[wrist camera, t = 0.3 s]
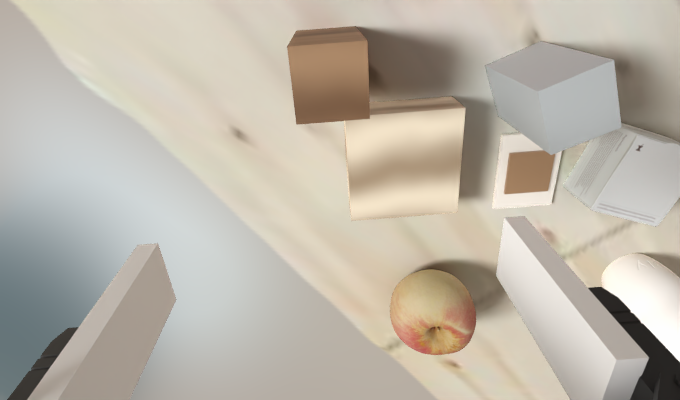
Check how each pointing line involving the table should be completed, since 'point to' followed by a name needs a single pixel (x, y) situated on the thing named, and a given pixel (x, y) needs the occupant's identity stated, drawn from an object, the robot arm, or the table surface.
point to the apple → (433, 312)
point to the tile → (524, 173)
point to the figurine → (648, 295)
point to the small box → (628, 175)
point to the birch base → (405, 158)
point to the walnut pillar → (329, 75)
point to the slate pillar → (556, 95)
